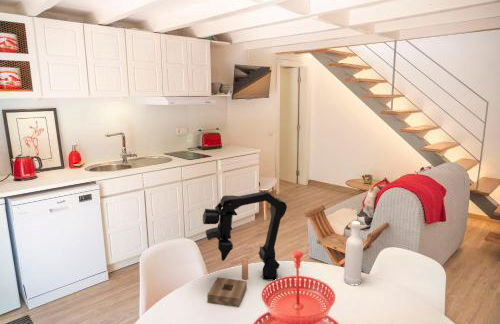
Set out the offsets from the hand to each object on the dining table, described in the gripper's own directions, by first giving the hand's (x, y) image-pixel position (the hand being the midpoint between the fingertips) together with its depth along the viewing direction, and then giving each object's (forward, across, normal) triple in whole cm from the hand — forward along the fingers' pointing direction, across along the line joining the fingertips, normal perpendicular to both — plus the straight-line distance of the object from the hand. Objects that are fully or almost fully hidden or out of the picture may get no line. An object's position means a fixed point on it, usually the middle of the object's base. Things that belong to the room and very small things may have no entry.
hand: (222, 256), depth 153 cm
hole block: (+15, +8, +3) cm, 17 cm away
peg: (+13, -5, +13) cm, 19 cm away
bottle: (+8, +6, +63) cm, 64 cm away
